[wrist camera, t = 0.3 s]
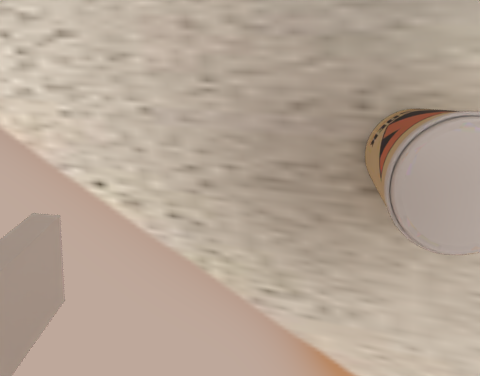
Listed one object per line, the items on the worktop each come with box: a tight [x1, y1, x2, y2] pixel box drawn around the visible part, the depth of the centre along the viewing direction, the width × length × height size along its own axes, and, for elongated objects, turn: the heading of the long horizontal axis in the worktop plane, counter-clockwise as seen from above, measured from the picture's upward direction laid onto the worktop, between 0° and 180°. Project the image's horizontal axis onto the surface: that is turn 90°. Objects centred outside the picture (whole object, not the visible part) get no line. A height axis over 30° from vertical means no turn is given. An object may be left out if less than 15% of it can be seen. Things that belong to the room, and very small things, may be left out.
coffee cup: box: [365, 109, 480, 255], centre depth 33 cm, size 9×9×12 cm
